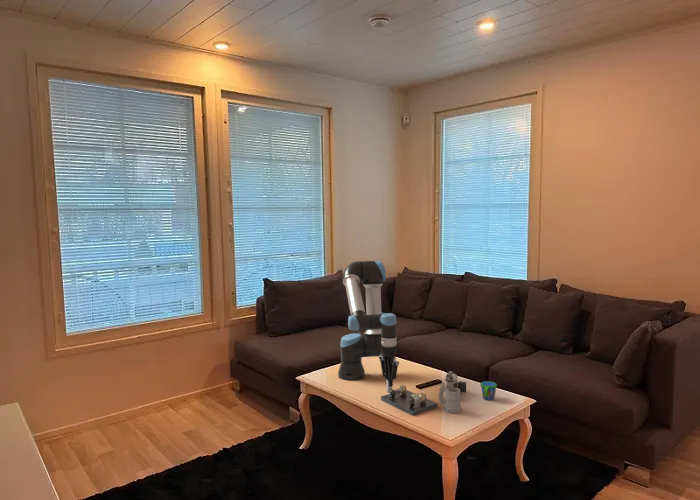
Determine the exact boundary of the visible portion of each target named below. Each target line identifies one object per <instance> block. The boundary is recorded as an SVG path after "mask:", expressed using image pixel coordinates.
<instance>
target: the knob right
mask: <svg viewBox="0 0 700 500" xmlns="http://www.w3.org/2000/svg"><path fill="white" fill-rule="evenodd" d="M418 394H419V397H416V398H409V406H410V407H414V404H416V403H420V404H426V398H427V394H426V393H418Z"/></svg>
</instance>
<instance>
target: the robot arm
mask: <svg viewBox="0 0 700 500" xmlns="http://www.w3.org/2000/svg"><path fill="white" fill-rule="evenodd" d="M386 273H387V272H386V269H385V265H384V263H383V262H382V261H381V260H363V261H361V260H360V261H358V260H357V261H352V262H351V263H350V264H348V265H347V266H346V267H345V268H344V271H343V273H342V278H341V279H342V284H343V286H345V290H346V296H347V302H348V307H349V308H348V309H349V313H350V315H348V318H347V325H348V330H350V331H365V332H364V336H363V335H361V334H360V333H358V332H357V333H349V334H346V335H343V336H342V337H341V338H340V365H339V369H338V371H337V376H338V378H339V379H341V380H345V381H356V380H362V379H364V378H365V376H366V371H365V369H364V366H363V363H362V358H370V357H371V358H373V357H377V358H378V359H379V362H380V368H381V374H382V377H383V378H384V379H385V390H386V391H385V393H387V394H390V390H392V389H393V385H394V381H393V380H396V378H397V373H398V367H399V365H400V361H399V360H398V361H397V360H396V359H397V358H396V354H397V343H398V342H397V341H398V340H397V322H398V321H397V315H396V314H394V313H392V312H391V313H390V312H388V313H385V312H382V295H381V293H382V292H381V288H382V286H383V284H384V282H385V281H386V279H387V274H386ZM360 282H361V283H362V286H363V287H364V289H365V304H364V300H363V297H362V291H361V288H360ZM364 305H365V306H364ZM365 310H366V311H365Z"/></svg>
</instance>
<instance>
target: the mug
mask: <svg viewBox="0 0 700 500" xmlns="http://www.w3.org/2000/svg"><path fill="white" fill-rule="evenodd" d="M444 392H445V398H444V395H443V394H444ZM461 399H462V395H461V392H460V389H458V388H446V384H445V383H444V382H443V381H442V382H441V385H440V388H439V392H438V400H439V402H440V405H444V404H445V405H444V409H445V411H446V413H449V414H459V413H461V411H462V408H463V407H462V404H461Z"/></svg>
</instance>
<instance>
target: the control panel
mask: <svg viewBox="0 0 700 500" xmlns="http://www.w3.org/2000/svg"><path fill="white" fill-rule="evenodd" d="M419 394H420V393H415V392H412V391H410V390H408V389H406V395H400V394H397V395H395V398H390V393H387V394H385V395H381V396H380V401H382V402H384V403H386V404H388V405H390V406H392V407H394V408H396V409H399V410H400V411H402V412H404V413H406V414H408V415H409V416H416V415H419V414H421V413H424V412H428V411H431V410H433V409H436V408H438V407H439V404H438V402H436V401H433V400H432V399H429V398H427V397H426V404H420V403H416V404H414V407H410V406H409V398H416V397H419Z"/></svg>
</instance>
